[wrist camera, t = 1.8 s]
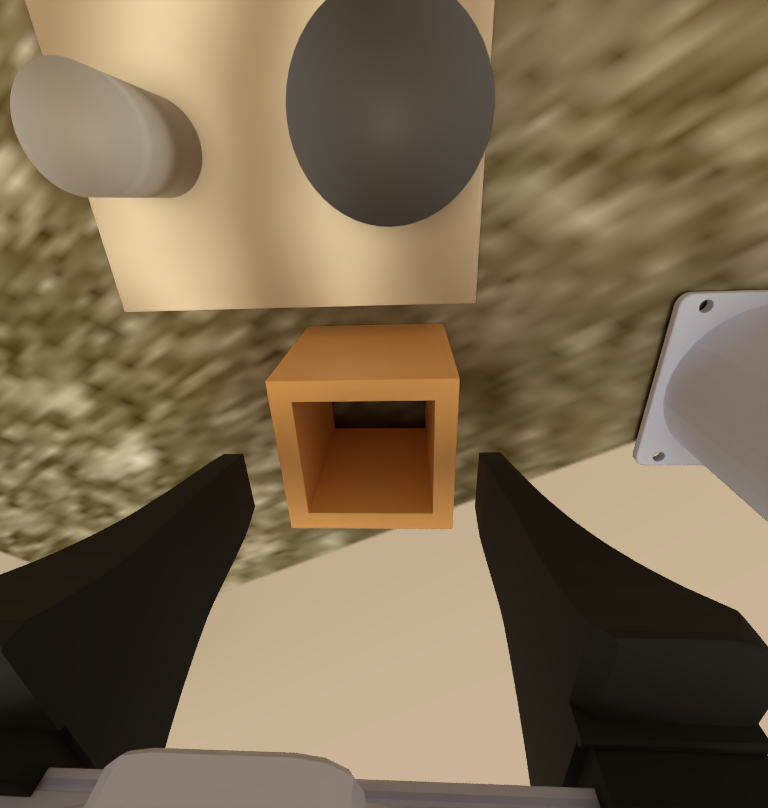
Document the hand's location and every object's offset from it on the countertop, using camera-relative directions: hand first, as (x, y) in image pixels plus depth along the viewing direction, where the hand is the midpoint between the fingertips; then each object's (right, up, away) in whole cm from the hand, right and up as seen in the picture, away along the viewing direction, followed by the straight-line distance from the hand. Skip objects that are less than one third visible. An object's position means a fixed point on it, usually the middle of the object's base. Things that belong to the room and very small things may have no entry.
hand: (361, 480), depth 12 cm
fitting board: (-3, +12, +2) cm, 12 cm away
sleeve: (0, +3, +6) cm, 7 cm away
